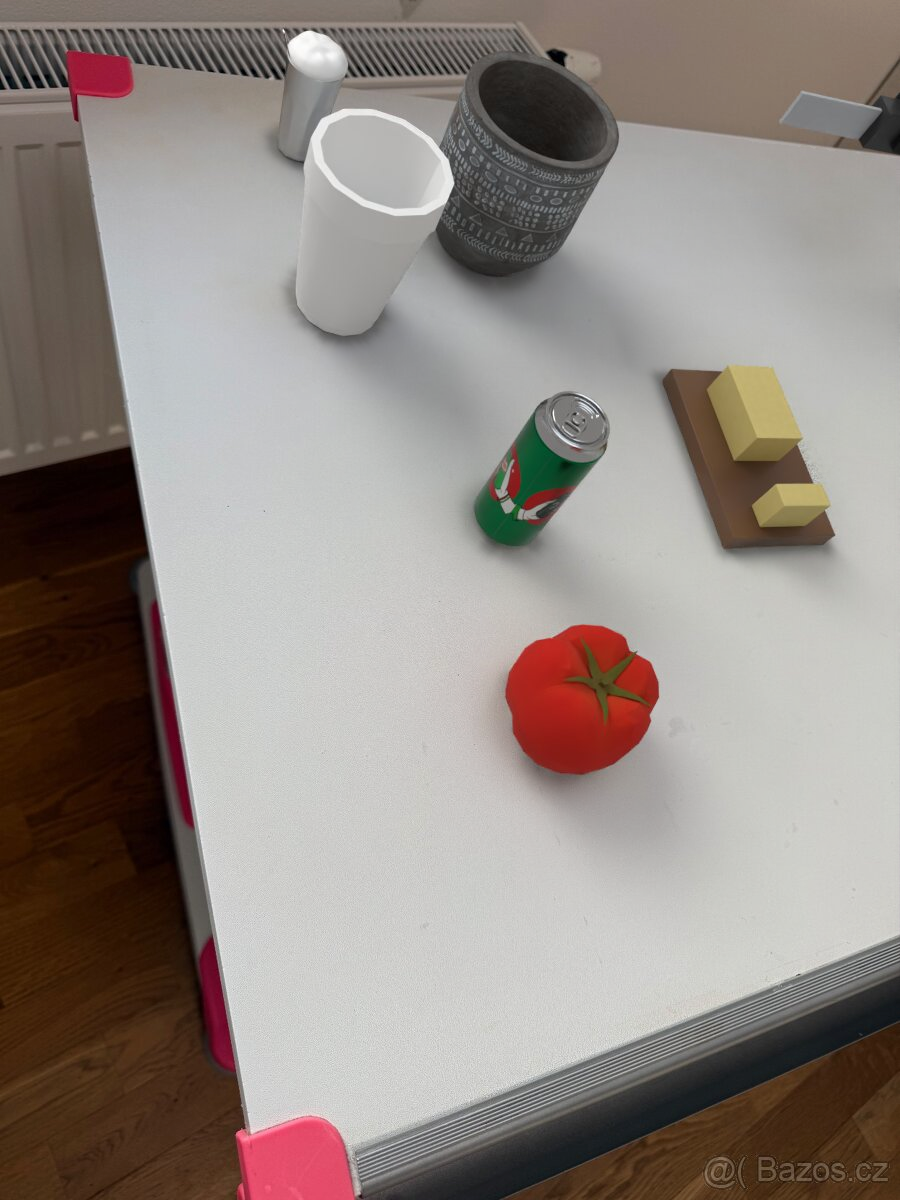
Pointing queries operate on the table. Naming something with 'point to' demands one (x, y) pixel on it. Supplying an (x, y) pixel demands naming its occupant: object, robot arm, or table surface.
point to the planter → (521, 161)
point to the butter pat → (790, 505)
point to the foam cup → (364, 214)
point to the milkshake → (308, 89)
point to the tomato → (580, 699)
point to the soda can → (542, 468)
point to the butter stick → (753, 413)
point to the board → (735, 471)
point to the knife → (848, 119)
